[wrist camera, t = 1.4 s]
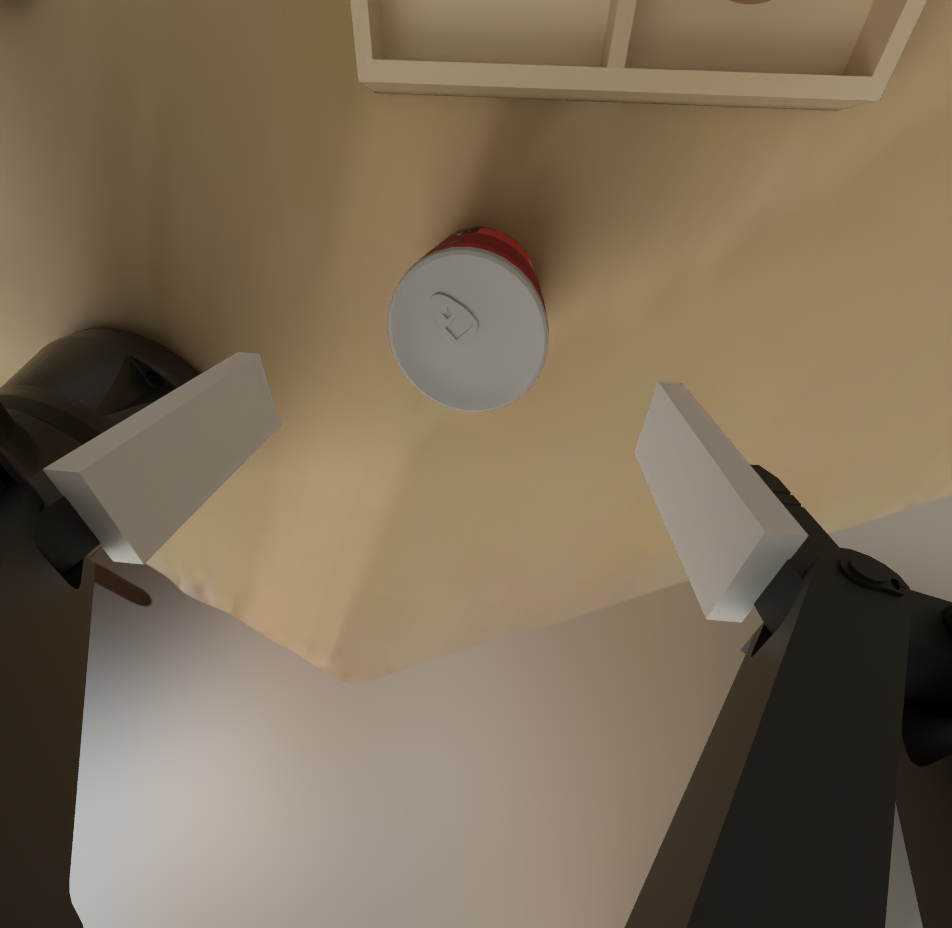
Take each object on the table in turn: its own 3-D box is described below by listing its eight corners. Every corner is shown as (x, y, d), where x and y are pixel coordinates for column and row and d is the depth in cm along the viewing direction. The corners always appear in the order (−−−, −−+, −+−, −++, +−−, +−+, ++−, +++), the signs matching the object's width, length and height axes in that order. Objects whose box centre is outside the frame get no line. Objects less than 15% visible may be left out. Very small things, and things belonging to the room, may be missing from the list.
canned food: (462, 198, 24) (432, 206, 15) (562, 274, 26) (586, 320, 18) (408, 304, 28) (360, 360, 20) (498, 364, 31) (492, 438, 22)
